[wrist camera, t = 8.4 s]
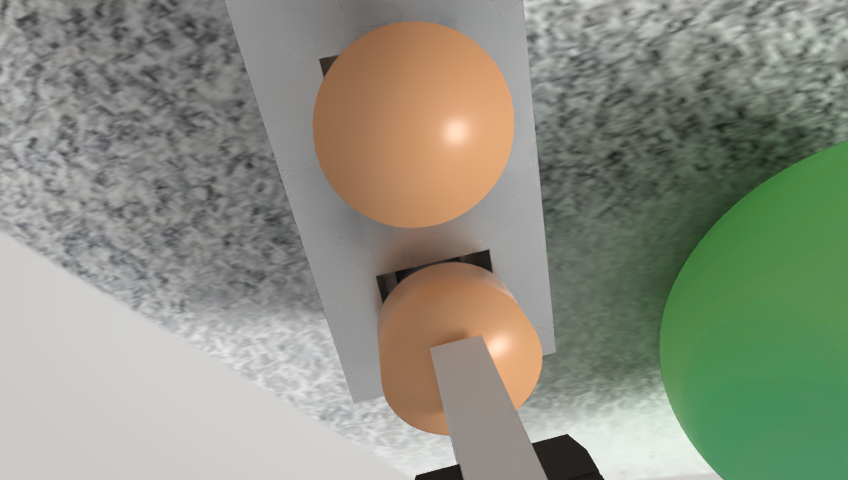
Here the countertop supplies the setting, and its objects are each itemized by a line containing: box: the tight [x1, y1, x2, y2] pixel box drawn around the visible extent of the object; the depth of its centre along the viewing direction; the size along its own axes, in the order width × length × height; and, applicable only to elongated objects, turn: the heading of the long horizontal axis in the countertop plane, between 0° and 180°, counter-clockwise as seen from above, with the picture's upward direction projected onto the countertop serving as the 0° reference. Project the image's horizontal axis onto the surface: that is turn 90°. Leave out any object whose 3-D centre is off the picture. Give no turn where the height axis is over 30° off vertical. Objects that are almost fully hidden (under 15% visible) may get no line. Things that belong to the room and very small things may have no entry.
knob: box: [377, 257, 542, 435], centre depth 18 cm, size 5×5×8 cm
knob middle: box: [312, 21, 514, 228], centre depth 15 cm, size 5×5×8 cm
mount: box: [224, 0, 556, 403], centre depth 17 cm, size 20×8×6 cm, turn 11°
